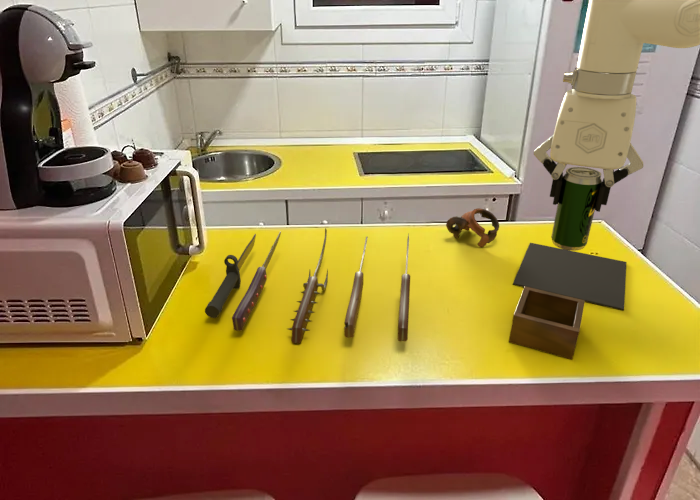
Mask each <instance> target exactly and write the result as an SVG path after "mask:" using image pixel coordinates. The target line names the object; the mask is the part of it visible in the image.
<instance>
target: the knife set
mask: <svg viewBox="0 0 700 500" xmlns="http://www.w3.org/2000/svg"><path fill="white" fill-rule="evenodd" d="M327 231H328V230H327V227H325V229H324V239H323V244H322V248H321V252H320V256H319V258H318V262H317V265H316V267H315V271H314V273H313V275H311V270H309V271H308V278H307V281H306V282H304V283H303V284H302V286H303V289H304V291H300V294H301V293H302V294H303V295H302V298H301V300H298V301H296V303H299V306H298V309H297V310H293V312H294V313H296V314H295V317H294V318H290V319H289V320H290V321H293V323H292V327H289V328H287V330H288V331H291V342H292V343H293V344H301V343H302V341H303V337H304V334H305V332H308V331H309V332H310V330H309V329H307V326H308V325H307V324H308V323H310V322H312V319H311V320H310V315H311V314H315V313H316V311H312V309H313V307H314V305H315V304H318V302H317V301H316V300H315V299H316V297H317V295H320V294H321V292H318V289H319V288H321V290H322V291H323V292H325V291H326V289H327V286H328V281H329V280H328V279H329V269H328V268H326V273H325V280H324V283H319V280H318V275H319V273H320V270H321V267H322V263H323V258H324V255H325V249H326V243H327V238H328V237H327V235H328V234H327V233H328V232H327ZM281 234H282V231H279V232H278V234H277V237H276V239H275V240H274V243H273V244H272V246H271V248H270V250H269V252H268V254H267V256H266V258H265V260H264V262H263V264H262V266H258V267H257V269H256V271H255V273H254V275H253V277H252V280H251V282H250V284H249V287H248V288H247V290H246V292H245V294H244V296H243V297H242V299H241V300H240V301H239V304H238V305H237V307H236V309H235V311H234V313H233V314H232V317H231V320H232V326H233V330H234V331H235V332H236V331H237V332H241V331H243V330H244V328H245V326H246V323H247V321H248V320H249V317H250V316H251V314H252V312H253V311H254V309H255V307H256V305H257V303H258V302H259V299H260V296H261V294H262V292H263V289H264V288H265V285H266V282H267V280H268V277H267V269H268V266H269V264H270V262H271V260H272V258H273V255H274V253H275V252H276V251H275V250H276V248H277V246H278V243H279V241H280V237H281ZM256 237H257V234H256V233H254V234H253V236H252V238H251V240H250V241H249V243H248V244H247V245H246V246H245V248H244V249H243V251H242V252H241V254H240V257H239V258H237V256H236V255H234V254H228V255H226V257H225V259H224V260H223V263H224V266H226V267H225V277H224V278H223V280H222V282H221V284H220V285H219V287H218V288H217V290H216V292H215V294H214V296H213V297H212V299H211V300H210V301H209V302H208V303H207V305H206V306H205V308H204V313H205V315H206V316H207V317H209V318H212V319H216V318H218V317H219V316H220V314H221V313H222V311H223V307H224V305H225V303H226V302H227V300H228V298H229V296H230V294H231V293H232V291H233V290H240V288H241V283H242V282H241V273H240V270H241V269H242V267H243V266H244V263H245V262H246V260H247V258H248V257H249V255H250V254H251V252H252V251H253V249H254V246H255V243H256ZM368 238H369V237H368V236H365V239H364V240H365V241H364V245H363V251H362V256H361V261H360V266H359V271H356V272H355V273H354V277H353V283H352V288H351V293H350V297H349V301H348V305H347V309H346V313H345V318H344V322H343V323H344V327H343V335H344V337H345V338H346V339H353V338H354V337H355V332H356V327H357V321H358V317H359V312H360V307H361V302H362V295H363V290H364V272H363V271H362V270H363V266H364V260H365V255H366V249H367V243H368ZM409 247H410V233H409V232H408V234H407V239H406V257H405V273H403V274H402V275H401V280H400V294H399V306H398V319H397V320H398V321H397V341H399V342H407V341H408V339H409V337H408V335H409V318H410V317H409V316H410V296H411V295H410V294H411V293H410V292H411V274H409V273H408V267H409V266H408V265H409V262H408V261H409V249H410V248H409ZM229 260H231V261H233V263H231V262H229Z"/></svg>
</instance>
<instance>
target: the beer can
mask: <svg viewBox="0 0 700 500" xmlns="http://www.w3.org/2000/svg"><path fill="white" fill-rule="evenodd" d="M602 181H603V179H602V172H601V171H599V170H597V169H595V168H592V167H584V166H572V167H568V168H567V169H566V170H565V173H564V174H563V181H562V186H561V192H560V197H559V202H558V204H557V206H556V211H555V216H554V221H553V226H552V231H551V236H550V238H551V241H552V244H553V246H555V247H556V248H560V249H565V250H570V251H575V252H578V251H582V250H583V249H585V247H586V246H587V244H588V241H589V236H590V232H591V230H592V229H591V228H592V224H593V220H594V216H595V212H596V210H595V207H596V202H597V198H598V194H599V190H600V185H601V182H602Z"/></svg>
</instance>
